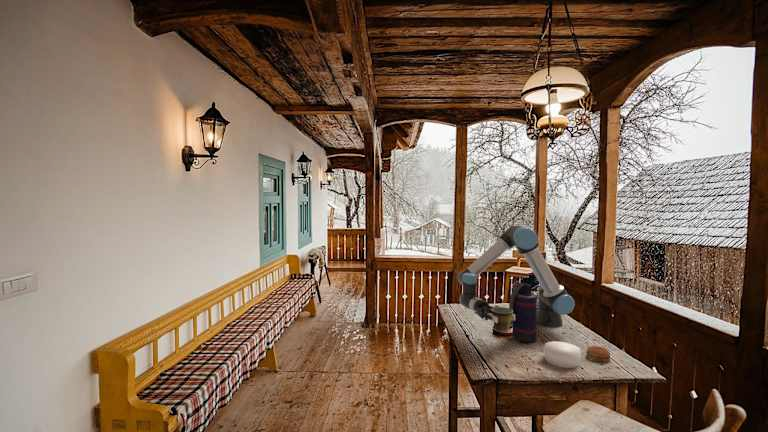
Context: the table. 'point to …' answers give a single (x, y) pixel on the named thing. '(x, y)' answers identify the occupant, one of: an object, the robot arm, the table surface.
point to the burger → (598, 354)
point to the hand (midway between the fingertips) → (505, 318)
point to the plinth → (562, 354)
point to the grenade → (524, 312)
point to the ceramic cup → (502, 318)
